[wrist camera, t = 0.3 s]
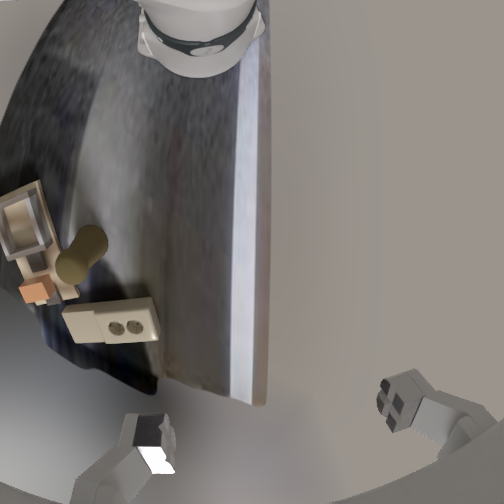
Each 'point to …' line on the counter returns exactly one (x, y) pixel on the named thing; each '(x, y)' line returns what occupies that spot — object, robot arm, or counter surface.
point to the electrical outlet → (113, 321)
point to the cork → (81, 255)
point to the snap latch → (37, 288)
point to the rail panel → (32, 238)
